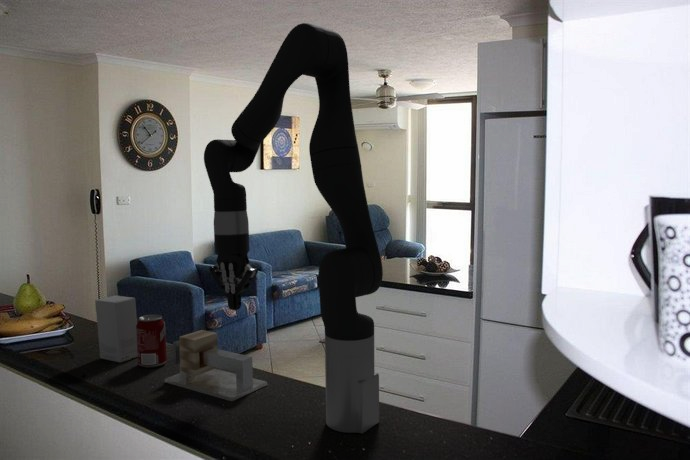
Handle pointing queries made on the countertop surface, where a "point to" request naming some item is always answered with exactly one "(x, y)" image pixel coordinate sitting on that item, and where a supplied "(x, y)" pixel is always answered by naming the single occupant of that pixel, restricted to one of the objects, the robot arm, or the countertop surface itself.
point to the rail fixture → (219, 374)
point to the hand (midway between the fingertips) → (234, 309)
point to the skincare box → (117, 328)
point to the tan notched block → (196, 351)
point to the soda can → (151, 341)
